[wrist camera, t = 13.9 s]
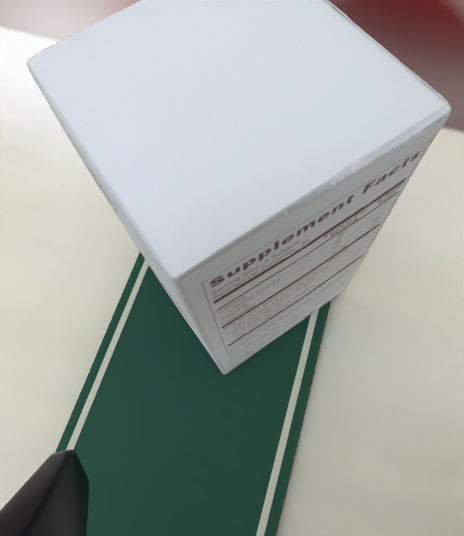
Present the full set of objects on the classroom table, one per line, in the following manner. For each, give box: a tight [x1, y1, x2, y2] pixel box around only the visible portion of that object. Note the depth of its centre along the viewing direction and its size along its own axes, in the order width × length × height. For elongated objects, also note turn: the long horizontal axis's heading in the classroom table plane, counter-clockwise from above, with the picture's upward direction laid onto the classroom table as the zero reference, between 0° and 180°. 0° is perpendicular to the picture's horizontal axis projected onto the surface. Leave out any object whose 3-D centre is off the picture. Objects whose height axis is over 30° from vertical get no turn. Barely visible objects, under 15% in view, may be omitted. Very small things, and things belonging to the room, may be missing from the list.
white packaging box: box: [27, 0, 451, 374], centre depth 15 cm, size 7×7×13 cm
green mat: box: [55, 252, 331, 536], centre depth 21 cm, size 20×10×1 cm, turn 163°
